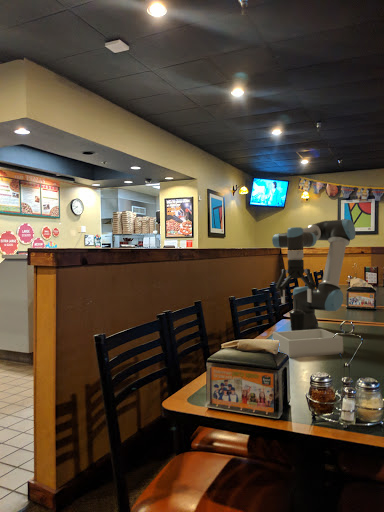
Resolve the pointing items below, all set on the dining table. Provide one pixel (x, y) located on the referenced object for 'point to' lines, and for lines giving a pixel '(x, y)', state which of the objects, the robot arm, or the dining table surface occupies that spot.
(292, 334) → the box
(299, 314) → the drinking cup
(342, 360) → the dining table surface
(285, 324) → the dining table surface
